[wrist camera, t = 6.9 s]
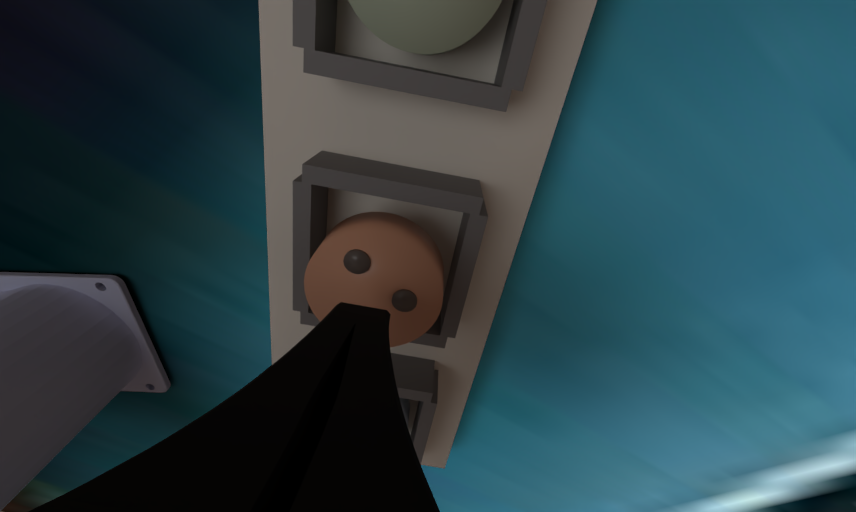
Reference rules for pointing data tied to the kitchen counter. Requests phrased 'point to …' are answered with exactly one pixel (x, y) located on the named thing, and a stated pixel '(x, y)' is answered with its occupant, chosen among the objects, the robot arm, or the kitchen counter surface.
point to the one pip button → (425, 22)
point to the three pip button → (379, 272)
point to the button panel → (411, 167)
